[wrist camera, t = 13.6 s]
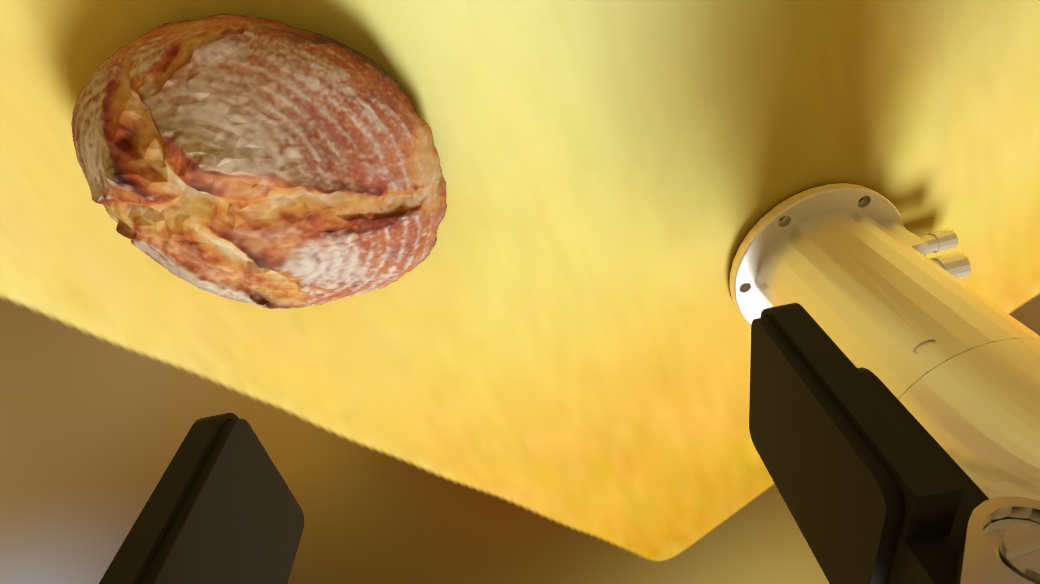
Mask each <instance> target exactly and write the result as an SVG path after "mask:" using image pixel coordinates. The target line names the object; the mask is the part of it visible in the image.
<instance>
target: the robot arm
mask: <svg viewBox="0 0 1040 584" xmlns="http://www.w3.org/2000/svg"><path fill="white" fill-rule="evenodd" d="M957 244H958V238H957V236H956V233H955V232H954V231H953V230H950V229H946V230H942V231H938V232H934V233H930V234H928V235H926V236H921V237H919V236H918V235H914V234H913V233H911V232H910V231H908V230H907V229H905V227H904V223H903V219H902V217H901V215H900V213H899V212H898V210H897V208H896V207H895V206H894V205H893V204H892V203H891V202H890V201H889V200H888V199H887V198H885V197H884V196H882V195H881V194H879V193H877V192H876V191H874V190H872V189H869V188H867V187H864V186H861V185H856V184H848V183H838V184H826V185H822V186H818V187H814V188H810V189H808V190H805V191H803V192H801V193H798V194H796V195H794V196H792V197H790V198H788V199H787V200H785V201H783V202H782V203H780V204H778V205H777V206H775V207H774V208H773V209H772V210H771V211H769V212H768V213H767V214H766V215H764V216H763V217H762V218H761V219H760V220H759V221H758V222H757V223H756V225H755V226H754V227H753V228H752V229H751V230H750V231H749V233H748V234H747V236H746V237H745V239H744V240H743V242H742V243H741V245H740V247H739V249H738V251H737V253H736V255H735V257H734V260H733V264H732V268H731V272H730V292H731V297H732V300H733V302H734V304H735V306H736V308H737V310H738V311H739V313H740V314H741V315H742V317H743V318H744V319H745V321H747V322H748V323H749V324H750V325H751V369H750V413H749V429H750V435H751V438H752V441H753V444H754V446H755V448H756V450H757V452H758V453H759V455H760V457H761V459H762V461H763V463H764V464H765V466H766V468H767V470H768V472H769V474H770V475H771V477H772V479H773V481H774V483H775V484H776V486H777V488H778V490H779V492H780V494H781V495H782V497H783V499H784V501H785V502H786V505H787V506H788V508H789V510H790V512H791V514H792V515H793V517H794V519H795V521H796V522H797V525H798V526H799V528H800V530H801V532H802V534H803V535H804V537H805V539H806V541H807V543H808V545H809V547H810V548H811V550H812V552H813V554H814V556H815V557H816V559H817V561H818V563H819V565H820V567H821V568H822V570H823V572H824V574H825V576H826V578H827V579H828V581H829V583H830V584H1040V336H1039V335H1037V334H1036V333H1035V332H1033V331H1032V330H1030V329H1029V328H1027V327H1026V326H1025V325H1023V324H1022V323H1020V322H1019V321H1017V320H1016V319H1015V318H1013V317H1011V316H1010V315H1009V314H1007V313H1006V312H1004V311H1003V310H1002V309H1000V308H999V307H997V306H996V305H994V304H993V303H992V302H990V301H989V300H987V299H986V298H984V297H983V296H982V295H980V294H979V293H977V292H976V291H974V290H973V289H972V288H970V287H969V286H967V285H966V284H964V283H963V282H962V281H960V280H959V279H963V278H966V277H967V276H969V274H970V271H971V267H970V263H969V260H968V258H967V257H966V256H965V255H964V254H963V253H960V252H955V253H951V254H947V255H943V256H939V257H935V258H931V259H929V258H927V257H926V254H927V253H932V252H933V253H936V252H940V251H944V250H948V249H952V248H955V247H956V245H957ZM303 528H304V515H303V511H302V509H301V507H300V506H299V504H298V503H297V501H296V499H295V498H294V496H293V494H292V493H291V491H290V490H289V488H288V486H287V485H286V483H285V481H284V480H283V478H282V477H281V475H280V473H279V472H278V470H277V469H276V467H275V465H274V464H273V462H272V461H271V459H270V457H269V456H268V454H267V452H266V451H265V449H264V447H263V446H262V444H261V443H260V441H259V439H258V438H257V436H256V435H255V433H254V431H253V430H252V428H251V426H250V425H249V423H248V422H247V421H246V420H244V419H239V418H238V417H237V416H236V415H235V414H233V413H226V414H221V415H216V416H211V417H206V418H201V419H199V420H197V421H196V422H195V423H194V424H193V426H192V427H191V429H190V430H189V432H188V434H187V436H186V437H185V439H184V441H183V442H182V444H181V446H180V447H179V449H178V451H177V453H176V454H175V456H174V458H173V459H172V461H171V463H170V464H169V466H168V468H167V469H166V471H165V473H164V474H163V476H162V478H161V480H160V481H159V483H158V485H157V486H156V488H155V490H154V491H153V493H152V495H151V496H150V498H149V500H148V502H147V503H146V505H145V507H144V508H143V510H142V512H141V513H140V515H139V517H138V518H137V520H136V522H135V524H134V525H133V527H132V529H131V530H130V532H129V534H128V535H127V537H126V539H125V541H124V542H123V544H122V546H121V548H120V549H119V551H118V552H117V554H116V556H115V557H114V559H113V561H112V563H111V564H110V566H109V568H108V569H107V571H106V573H105V574H104V576H103V578H102V579H101V581H100V583H99V584H287V582H288V579H289V575H290V572H291V569H292V565H293V562H294V559H295V555H296V552H297V549H298V545H299V542H300V538H301V535H302V532H303Z"/></svg>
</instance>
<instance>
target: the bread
mask: <svg viewBox="0 0 1040 584" xmlns="http://www.w3.org/2000/svg"><path fill="white" fill-rule="evenodd" d="M72 133H73V141H74V146H75V150H76V155H77V159H78V162H79V164H80V166H81V168H82V171H83V173H84V175H85V178H86V180H87V182H88V184H89V187H90V190H91V195H92V200H94V201H95V202H96V203H100V204H103V205H104V206H105V208H106V211H107V212H108V214H109V215H110V217H111V218H112V219H114V220H115V221H116V222H118V225H117V228H116V230H117V232H118V233H120V234H121V235H123V236H125V237H127V238H129V239H132V240H131V242H132V244H133V245H134V246H136V247H137V248H139V249H140V250H141V251H143V252H144V253H145V254H146V255H148V256H149V257H150V258H152V259H153V260H154V261H156V262H157V263H159V264H160V265H161V266H163V267H164V268H166V269H167V270H168V271H169V272H171V273H172V274H174V275H176V276H178V277H180V278H182V279H184V280H185V281H187V282H189V283H191V284H193V285H195V286H196V287H198V288H200V289H202V290H205V291H208V292H211V293H214V294H216V295H219V296H222V297H225V298H229V299H232V300H236V301H240V302H245V303H249V304H252V305H257V306H261V307H265V308H270V309H275V308H300V307H306V306H310V305H312V304H315V305H322V304H325V303H328V302H331V301H335V300H338V299H342V298H346V297H352V296H355V295H359V294H364V293H367V292H371V291H374V290H377V289H381V288H383V287H386V286H387V285H389V284H390V283H392V282H394V281H397V280H398V279H399V278H401V277H402V276H403V275H404V274H405V273H407V272H409V271H411V270H413V269H414V268H415V267H416V266H417V265H419V264H420V263H421V262H422V261H424V260H425V258H426V257H427V256H428V255H429V254H430V251H431V249H432V248H433V247H434V246H435V244H436V240H437V238H436V234H437V229H438V225H439V224H440V222H441V221H442V219H443V218H444V216H445V212H446V208H447V205H446V182H445V180H444V178H443V174H442V170H441V167H440V162H439V156H438V153H437V150H436V148H435V146H434V142H433V136H432V132H431V129H430V127H429V125H428V124H427V123H426V122H424V121H423V120H421V119H419V117H418V114H417V113H416V112H415V110H414V108H413V106H412V104H411V102H410V99H409V98H408V97H407V96H406V95H405V94H404V92H403V90H402V88H401V86H400V85H399V83H398V82H397V81H396V80H393V79H392V78H391V77H390V76H389V75H388V74H387V73H386V72H385V71H384V70H383V69H382V68H381V67H380V66H378V65H377V64H376V63H374V62H373V61H372V60H370V59H368V58H367V57H365V56H364V55H362V54H360V53H358V52H357V51H355V50H352V49H350V48H349V47H347V46H345V45H343V44H341V43H339V42H337V41H335V40H332V39H330V38H328V37H325V36H322V35H319V34H316V33H313V32H310V31H307V30H299V29H296V28H293V27H290V26H288V25H285V24H282V23H280V22H277V21H271V20H264V19H261V18H248V17H244V16H240V15H226V14H221V15H214V16H211V17H208V18H204V19H201V20H197V21H193V20H188V21H182V22H175V23H164V24H162V25H160V26H159V27H157V28H155V29H153V30H152V31H150V32H148V33H147V34H145V35H143V36H142V37H140V38H138V39H137V40H135V41H133V42H131V43H130V44H128V45H126V46H123V47H121V48H120V49H119V50H118V52H117V53H114V54H113V55H112V56H111V57H109V58H108V59H106V60H105V61H104V62H103V63H102V64H101V65H100V66H99V67H98V68H97V69H96V70H95V71H94V73H93V74H92V76H91V77H90V78H89V80H88V81H87V83H86V85H85V87H84V88H83V90H82V91H81V93H80V94H79V96H78V99H77V102H76V105H75V107H74V110H73V117H72Z"/></svg>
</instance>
